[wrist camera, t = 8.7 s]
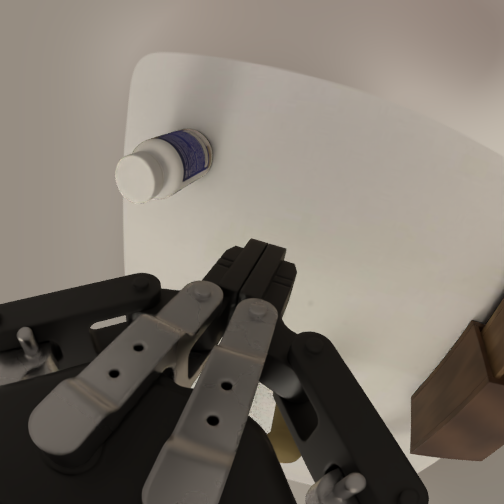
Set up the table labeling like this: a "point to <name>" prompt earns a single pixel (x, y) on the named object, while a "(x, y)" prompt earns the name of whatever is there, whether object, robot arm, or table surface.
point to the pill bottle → (163, 166)
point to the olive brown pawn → (282, 439)
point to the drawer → (495, 341)
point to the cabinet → (459, 404)
